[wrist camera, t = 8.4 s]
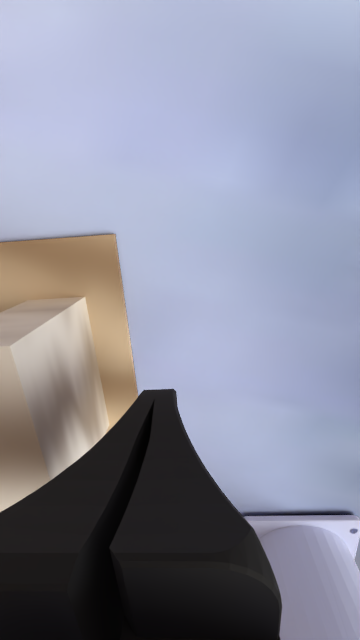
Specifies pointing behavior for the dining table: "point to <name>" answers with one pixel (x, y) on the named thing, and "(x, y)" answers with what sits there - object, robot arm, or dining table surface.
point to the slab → (46, 393)
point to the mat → (79, 281)
